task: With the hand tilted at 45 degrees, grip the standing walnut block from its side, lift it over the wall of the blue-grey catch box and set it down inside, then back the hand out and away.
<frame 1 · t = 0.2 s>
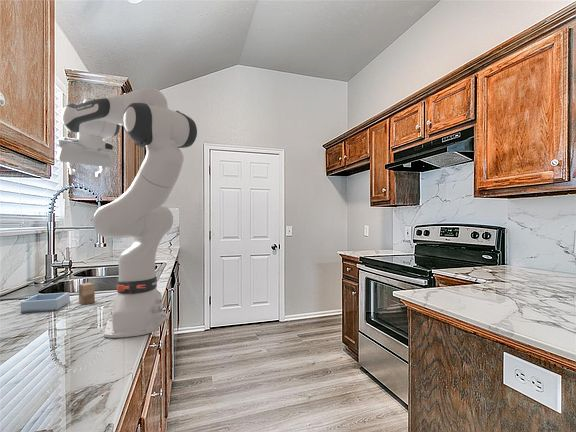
hand: (85, 175, 132), 51 cm above the countertop, tool tilted 20°, fingers open, 8 cm apart
catch box: (46, 307, 127), on the countertop
block: (86, 302, 133), on the countertop
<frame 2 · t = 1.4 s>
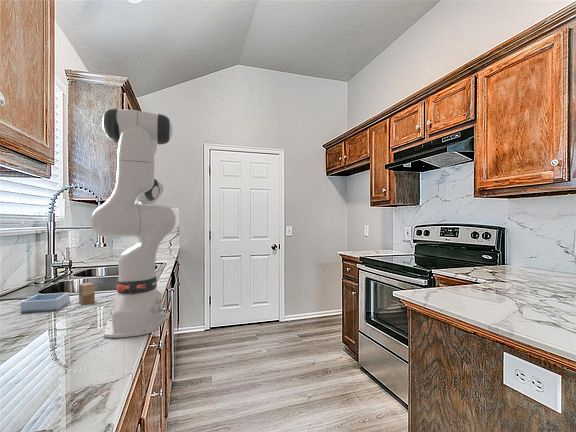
hand: (115, 231, 143), 28 cm above the countertop, tool tilted 45°, fingers open, 8 cm apart
nothing on the countertop moved.
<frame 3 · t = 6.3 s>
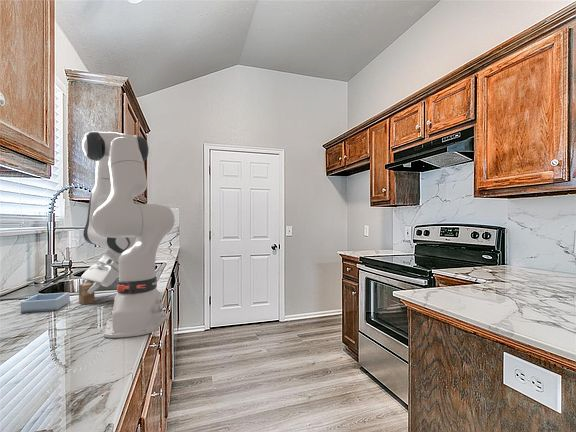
hand: (84, 291, 133), 4 cm above the countertop, tool tilted 45°, fingers closed on block, 4 cm apart
block: (86, 302, 133), on the countertop, touching gripper
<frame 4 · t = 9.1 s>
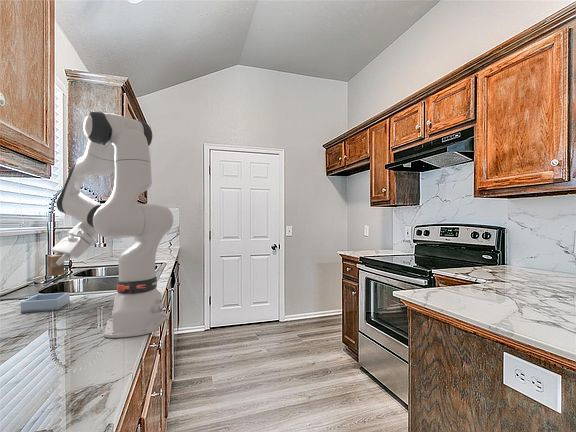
hand: (53, 263, 128), 17 cm above the countertop, tool tilted 45°, fingers closed on block, 4 cm apart
block: (56, 274, 129), point 12 cm above the countertop, touching gripper
when the fingers open (7 cm above the countertop, at t = 12.1 s): block drops 1 cm, resting on catch box.
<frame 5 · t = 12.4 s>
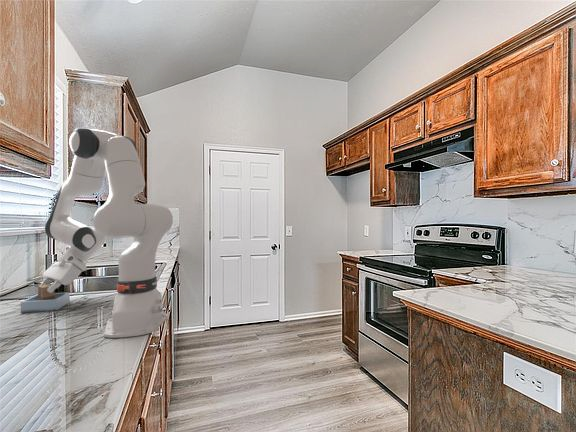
hand: (44, 290, 127), 7 cm above the countertop, tool tilted 45°, fingers open, 7 cm apart
block: (46, 305, 127), point 1 cm above the countertop, touching catch box
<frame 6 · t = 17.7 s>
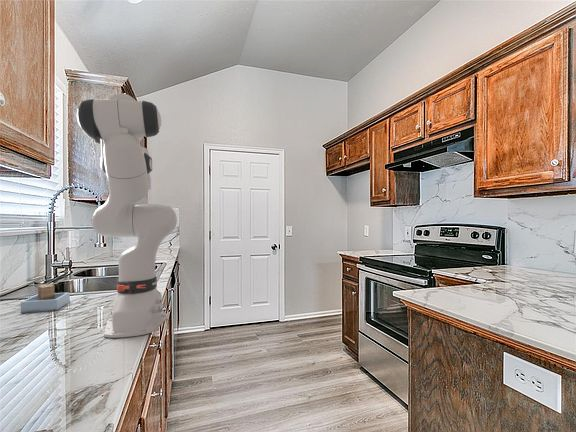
hand: (140, 217, 142), 34 cm above the countertop, tool pointing down, fingers open, 8 cm apart
nothing on the countertop moved.
at the end: block 0.0 cm off-centre on the catch box, point 0.8 cm above the catch box's base; block tilted 0°; the gripper is holding nothing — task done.
